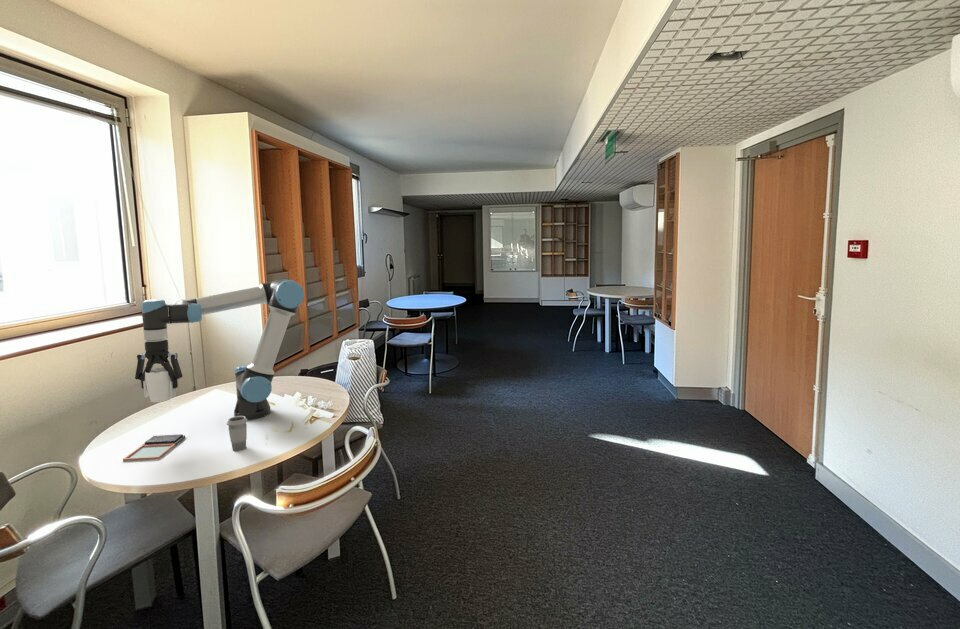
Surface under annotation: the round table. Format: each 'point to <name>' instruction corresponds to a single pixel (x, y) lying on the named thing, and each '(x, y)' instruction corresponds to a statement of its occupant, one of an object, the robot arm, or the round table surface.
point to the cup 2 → (238, 432)
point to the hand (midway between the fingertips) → (160, 396)
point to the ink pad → (165, 439)
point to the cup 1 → (158, 385)
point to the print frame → (149, 452)
